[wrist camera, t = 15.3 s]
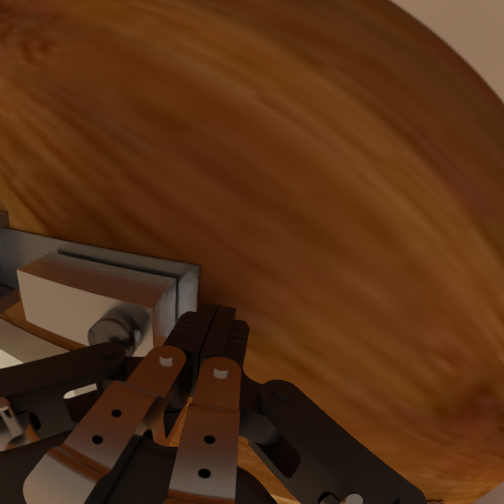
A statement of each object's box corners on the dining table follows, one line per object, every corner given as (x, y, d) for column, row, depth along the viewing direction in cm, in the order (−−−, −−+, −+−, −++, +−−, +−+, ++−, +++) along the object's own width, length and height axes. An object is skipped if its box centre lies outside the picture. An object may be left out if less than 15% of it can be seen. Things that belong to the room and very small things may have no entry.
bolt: (176, 278, 13) (138, 323, 9) (174, 331, 14) (144, 384, 10) (51, 252, 14) (0, 278, 10) (56, 298, 15) (13, 331, 11)
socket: (95, 360, 17) (72, 387, 14) (124, 462, 21) (114, 484, 18) (-18, 307, 17) (-39, 322, 14) (23, 411, 21) (10, 426, 19)
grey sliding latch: (202, 242, 13) (173, 274, 10) (194, 356, 15) (173, 406, 12) (-19, 207, 14) (-58, 220, 10) (-9, 288, 16) (-41, 308, 12)
